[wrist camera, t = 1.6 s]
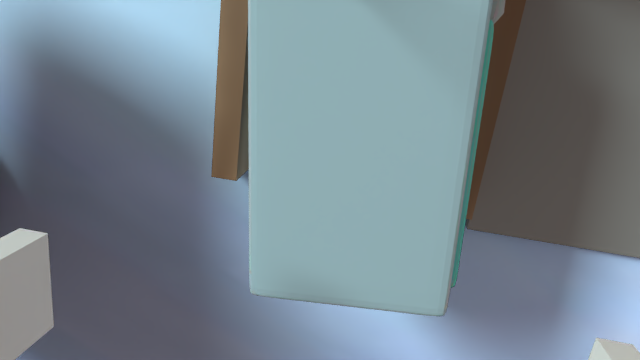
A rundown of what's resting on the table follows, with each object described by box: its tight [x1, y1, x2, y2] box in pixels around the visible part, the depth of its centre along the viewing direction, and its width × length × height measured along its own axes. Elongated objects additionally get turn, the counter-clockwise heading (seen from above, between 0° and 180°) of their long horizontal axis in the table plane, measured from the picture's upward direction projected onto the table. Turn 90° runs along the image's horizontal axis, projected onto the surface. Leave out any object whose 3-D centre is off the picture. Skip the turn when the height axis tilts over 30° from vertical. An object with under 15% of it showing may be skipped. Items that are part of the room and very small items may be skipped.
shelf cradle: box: [212, 0, 526, 220], centre depth 19 cm, size 15×18×14 cm
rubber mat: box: [466, 0, 640, 258], centre depth 25 cm, size 12×19×1 cm, turn 172°
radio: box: [248, 0, 505, 316], centre depth 17 cm, size 16×9×20 cm, turn 177°
